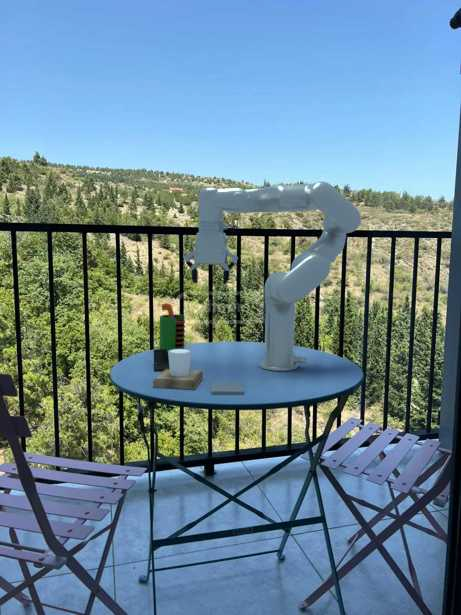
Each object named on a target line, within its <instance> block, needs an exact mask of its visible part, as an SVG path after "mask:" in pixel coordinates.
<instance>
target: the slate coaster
mask: <svg viewBox="0 0 461 615" xmlns="http://www.w3.org/2000/svg"><path fill="white" fill-rule="evenodd" d="M210 383H211V387H210V388H211V389H210V390H211V391H210V394H211V395H245V389H244V385H243V382H239V381H238V382H234V381H233V382H227V381H226V382H225V381H224V382H223V381H219V382H217V381H216V382H215V381H214V382H210Z"/></svg>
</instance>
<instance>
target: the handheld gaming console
mask: <svg viewBox="0 0 461 615" xmlns="http://www.w3.org/2000/svg"><path fill="white" fill-rule="evenodd" d="M153 369H154V370H153V372H154V373H155V372H156V373H158V372H160V373H162V372H163V371H164V370H165V369H170V367H169V356H168V352H167V351H166V349H159V348H158V349H153Z"/></svg>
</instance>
